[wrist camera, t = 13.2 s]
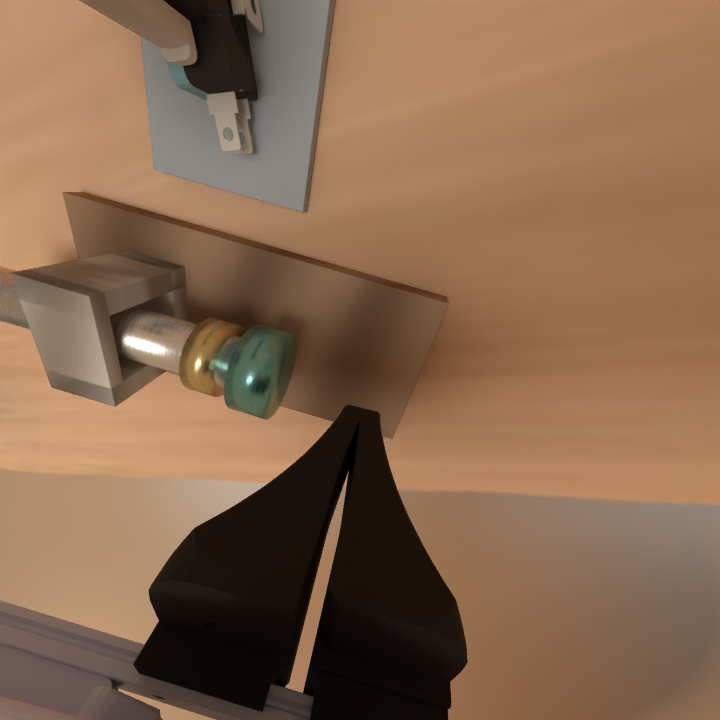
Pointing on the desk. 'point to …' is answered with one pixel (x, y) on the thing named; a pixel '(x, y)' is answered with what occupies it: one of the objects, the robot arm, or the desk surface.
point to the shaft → (196, 352)
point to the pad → (251, 110)
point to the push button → (201, 52)
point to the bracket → (224, 310)
